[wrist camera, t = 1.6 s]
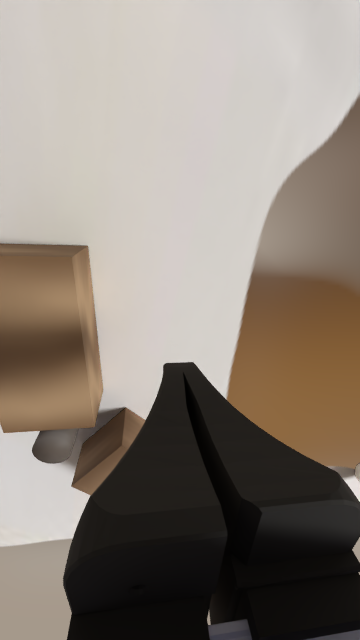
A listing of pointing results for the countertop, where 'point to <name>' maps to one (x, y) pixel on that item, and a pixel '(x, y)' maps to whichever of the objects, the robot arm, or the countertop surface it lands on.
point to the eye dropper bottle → (357, 472)
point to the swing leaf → (48, 346)
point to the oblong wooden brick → (105, 450)
